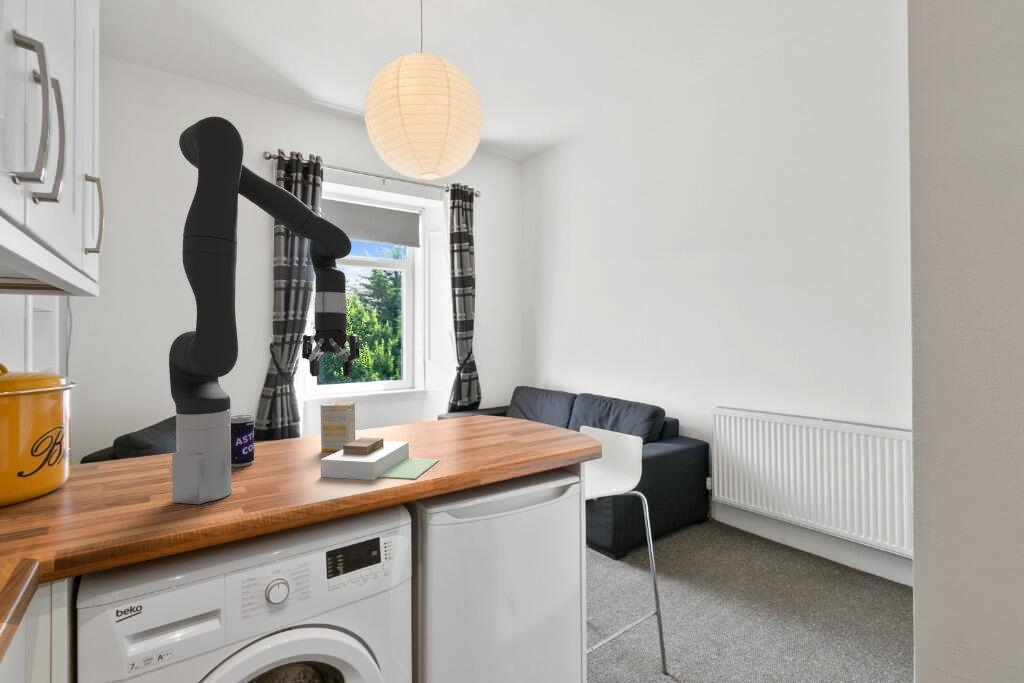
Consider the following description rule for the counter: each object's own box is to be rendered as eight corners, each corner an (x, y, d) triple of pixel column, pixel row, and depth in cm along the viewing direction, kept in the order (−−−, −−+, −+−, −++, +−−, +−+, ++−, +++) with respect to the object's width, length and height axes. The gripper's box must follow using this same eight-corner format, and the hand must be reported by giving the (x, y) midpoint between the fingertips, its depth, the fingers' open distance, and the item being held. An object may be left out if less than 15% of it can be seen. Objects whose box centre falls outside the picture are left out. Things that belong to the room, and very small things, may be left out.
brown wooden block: (366, 455, 114) (366, 446, 114) (343, 453, 115) (343, 445, 115) (383, 446, 123) (383, 438, 122) (361, 445, 124) (361, 437, 124)
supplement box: (356, 448, 137) (356, 402, 137) (349, 452, 132) (348, 404, 132) (328, 447, 138) (328, 402, 138) (320, 451, 133) (319, 404, 133)
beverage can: (234, 468, 116) (233, 419, 116) (224, 465, 120) (223, 417, 120) (258, 463, 121) (257, 416, 121) (247, 460, 124) (247, 413, 124)
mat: (415, 479, 108) (415, 478, 108) (377, 477, 109) (377, 476, 109) (438, 460, 124) (438, 459, 124) (405, 459, 125) (405, 457, 125)
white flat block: (373, 480, 108) (373, 462, 107) (320, 476, 110) (320, 459, 110) (408, 457, 127) (408, 442, 127) (363, 454, 130) (363, 440, 129)
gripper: (295, 310, 117) (295, 377, 118) (349, 310, 115) (349, 378, 115) (313, 312, 125) (313, 374, 125) (364, 312, 122) (364, 375, 123)
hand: (330, 376), depth 120 cm, fingers open, 8 cm apart
